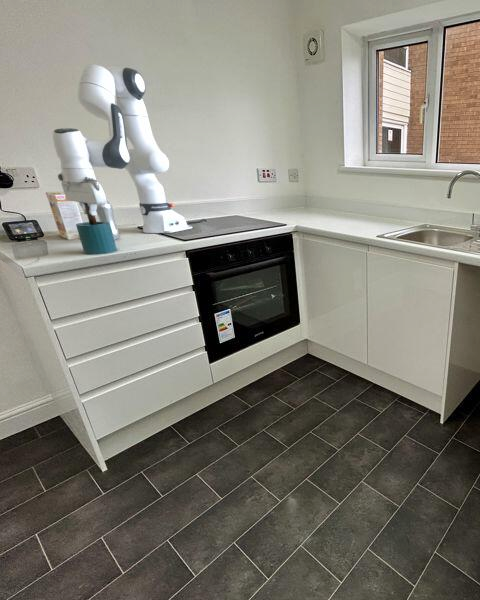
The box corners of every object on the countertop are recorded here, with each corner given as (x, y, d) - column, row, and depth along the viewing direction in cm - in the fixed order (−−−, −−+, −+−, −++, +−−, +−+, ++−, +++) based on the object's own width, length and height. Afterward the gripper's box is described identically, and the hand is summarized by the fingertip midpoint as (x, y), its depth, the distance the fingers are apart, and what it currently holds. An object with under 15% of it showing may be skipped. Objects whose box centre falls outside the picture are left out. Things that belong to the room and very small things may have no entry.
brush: (101, 239, 140) (89, 197, 134) (107, 240, 139) (95, 198, 133) (89, 241, 137) (76, 198, 131) (95, 242, 135) (82, 199, 129)
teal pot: (107, 247, 145) (100, 220, 141) (122, 250, 142) (115, 223, 138) (79, 252, 137) (70, 223, 133) (93, 255, 133) (85, 226, 129)
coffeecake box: (59, 235, 164) (44, 191, 156) (78, 233, 169) (65, 191, 162) (67, 240, 155) (53, 194, 148) (88, 237, 161) (75, 193, 154)
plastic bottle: (109, 241, 155) (96, 195, 147) (99, 240, 157) (86, 194, 149) (124, 239, 160) (113, 194, 153) (114, 237, 162) (102, 193, 155)
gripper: (106, 177, 128) (116, 216, 133) (75, 175, 136) (85, 211, 141) (85, 178, 122) (97, 218, 128) (54, 175, 130) (66, 213, 135)
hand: (91, 214), depth 134 cm, fingers closed on brush, 2 cm apart
